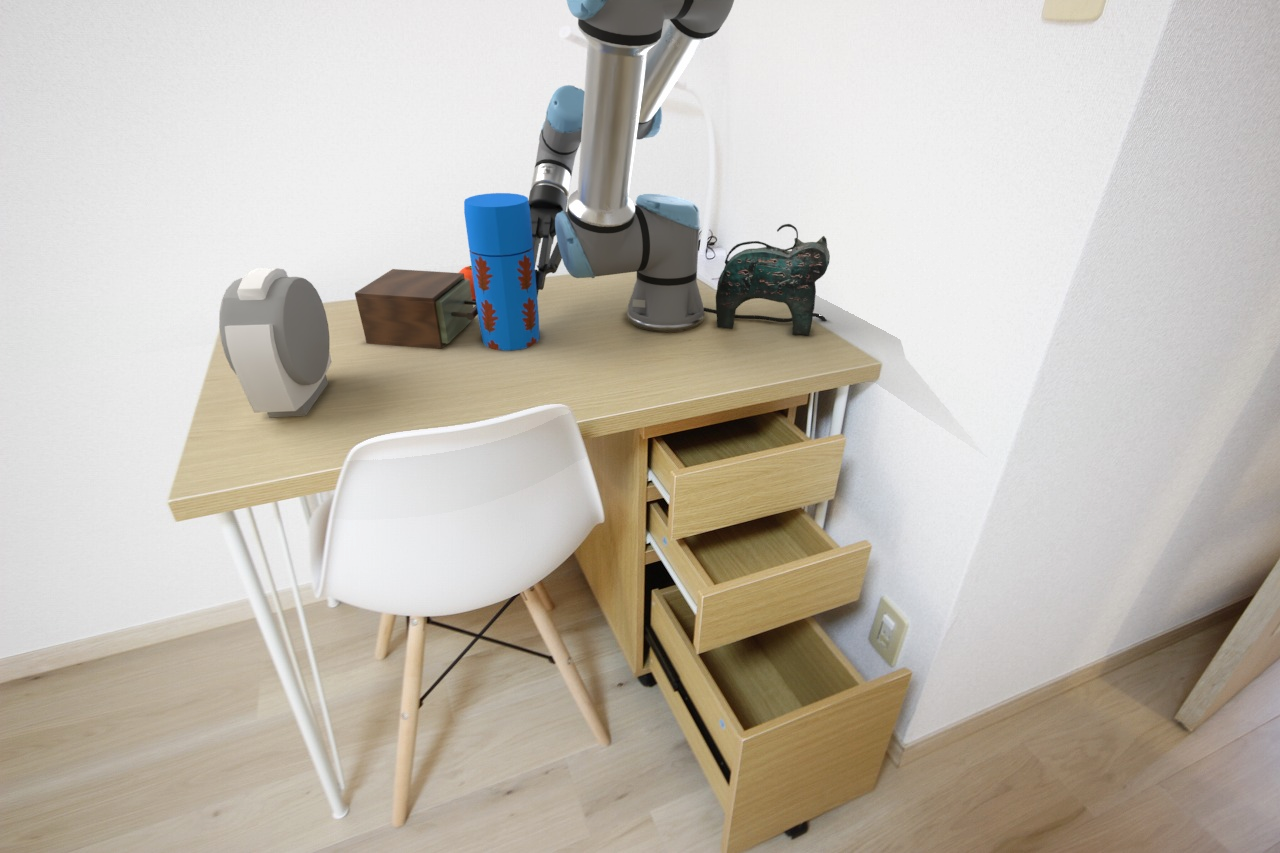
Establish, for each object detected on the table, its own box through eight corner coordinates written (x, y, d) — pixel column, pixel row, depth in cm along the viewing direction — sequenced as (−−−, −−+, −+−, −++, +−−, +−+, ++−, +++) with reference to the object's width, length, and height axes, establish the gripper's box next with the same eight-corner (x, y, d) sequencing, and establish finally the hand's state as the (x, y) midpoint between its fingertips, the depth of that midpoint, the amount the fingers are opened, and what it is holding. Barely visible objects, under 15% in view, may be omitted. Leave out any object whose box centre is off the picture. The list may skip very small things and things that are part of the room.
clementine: (489, 290, 142) (485, 258, 139) (500, 299, 137) (496, 267, 134) (454, 296, 139) (449, 264, 135) (463, 306, 134) (459, 273, 130)
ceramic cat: (818, 328, 125) (834, 223, 114) (818, 341, 119) (835, 232, 109) (716, 319, 129) (723, 216, 118) (711, 331, 123) (718, 225, 113)
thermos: (514, 355, 114) (498, 210, 101) (469, 342, 118) (448, 202, 105) (552, 334, 122) (542, 197, 109) (508, 323, 126) (494, 190, 113)
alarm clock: (293, 374, 107) (256, 253, 97) (346, 372, 108) (314, 252, 97) (246, 431, 92) (196, 295, 82) (308, 428, 93) (265, 293, 82)
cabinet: (470, 320, 127) (464, 273, 122) (441, 349, 116) (432, 298, 111) (402, 315, 130) (392, 268, 125) (366, 343, 118) (354, 292, 113)
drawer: (495, 319, 126) (490, 280, 122) (470, 345, 115) (464, 303, 111) (410, 313, 128) (403, 275, 124) (378, 338, 118) (369, 297, 114)
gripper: (512, 181, 125) (490, 293, 120) (577, 184, 123) (558, 298, 118) (523, 202, 132) (503, 309, 127) (585, 206, 131) (567, 314, 125)
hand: (529, 303), depth 123 cm, fingers closed
